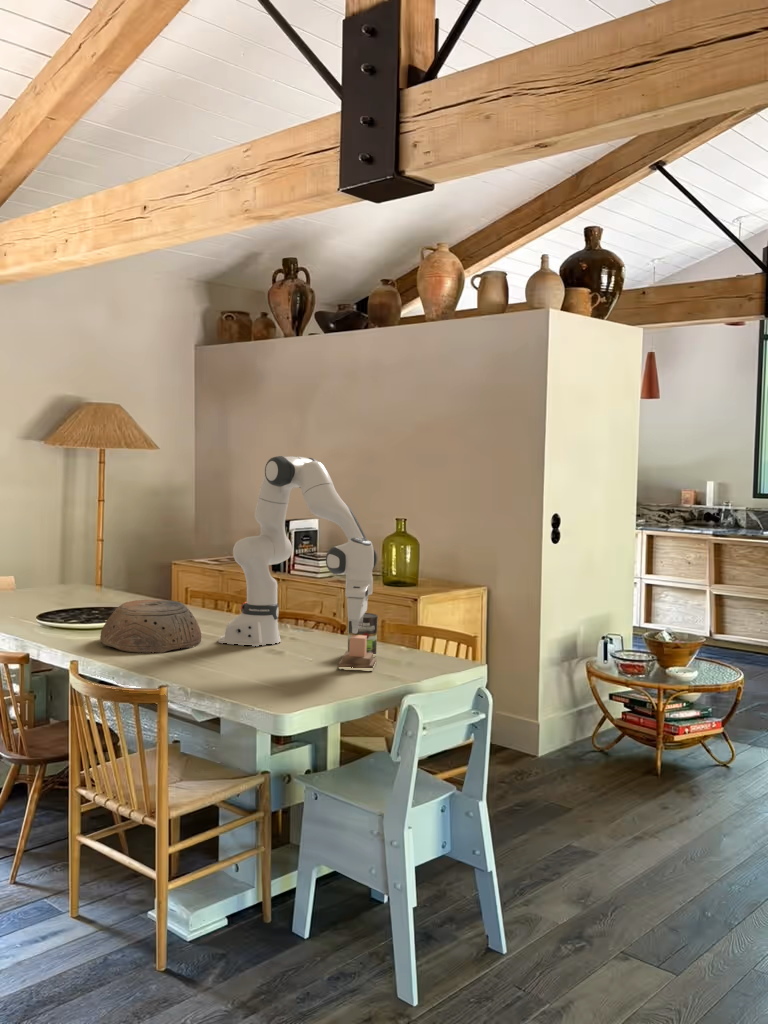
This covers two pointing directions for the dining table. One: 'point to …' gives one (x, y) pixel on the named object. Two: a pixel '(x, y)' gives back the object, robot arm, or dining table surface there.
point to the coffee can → (366, 631)
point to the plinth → (357, 661)
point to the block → (358, 645)
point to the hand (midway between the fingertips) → (357, 630)
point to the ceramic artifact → (151, 627)
